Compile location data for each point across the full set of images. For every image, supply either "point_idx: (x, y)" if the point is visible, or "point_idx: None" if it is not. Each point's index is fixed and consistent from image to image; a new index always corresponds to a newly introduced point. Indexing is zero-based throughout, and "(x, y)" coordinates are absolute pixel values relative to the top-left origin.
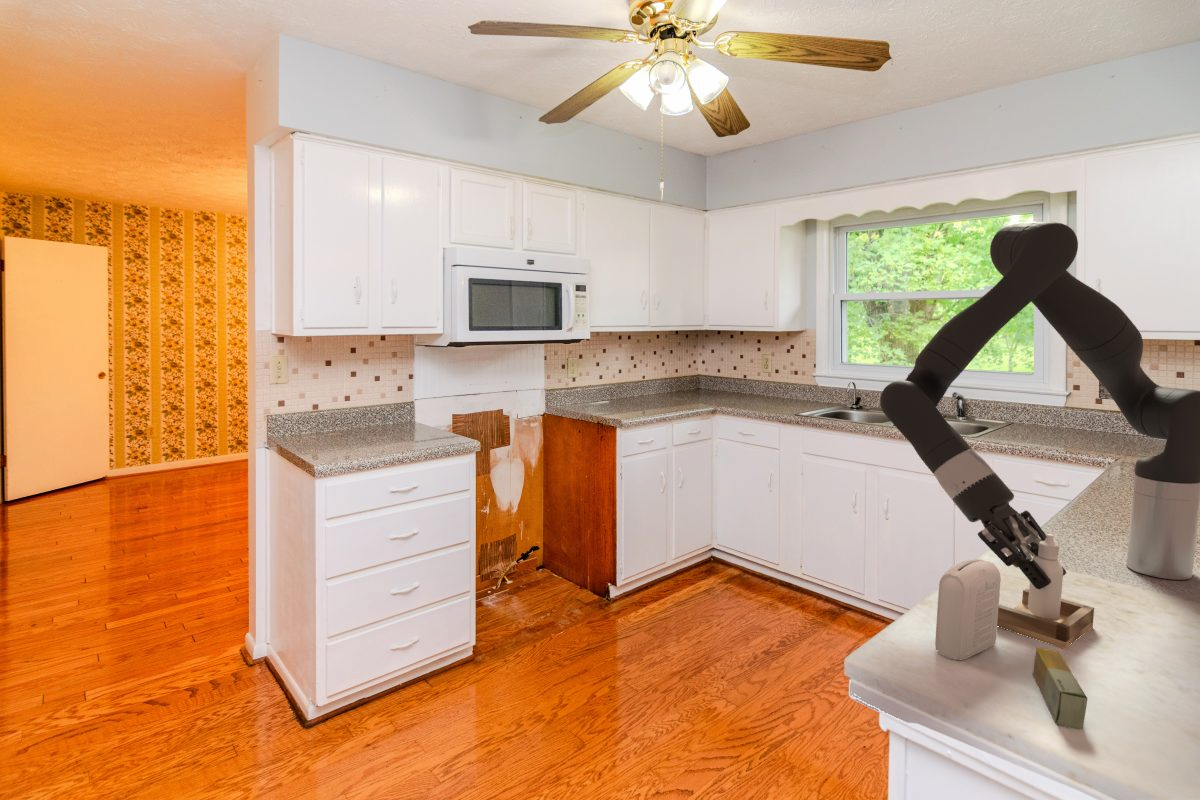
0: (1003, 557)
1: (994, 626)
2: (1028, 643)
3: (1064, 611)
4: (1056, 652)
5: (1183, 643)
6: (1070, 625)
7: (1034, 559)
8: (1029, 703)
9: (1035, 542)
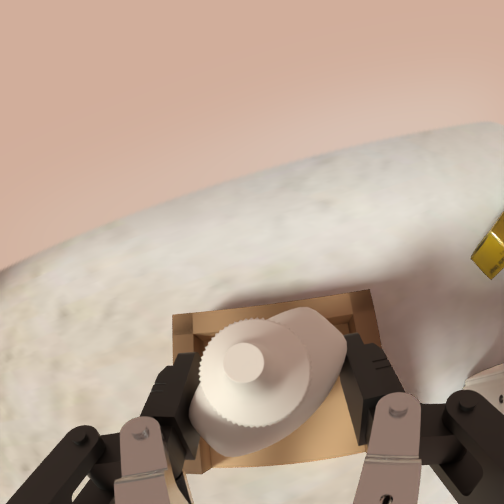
0: (473, 459)
1: (502, 364)
2: (400, 357)
3: None
4: (497, 230)
5: (141, 217)
6: (344, 294)
7: (285, 431)
8: None
9: (172, 475)
